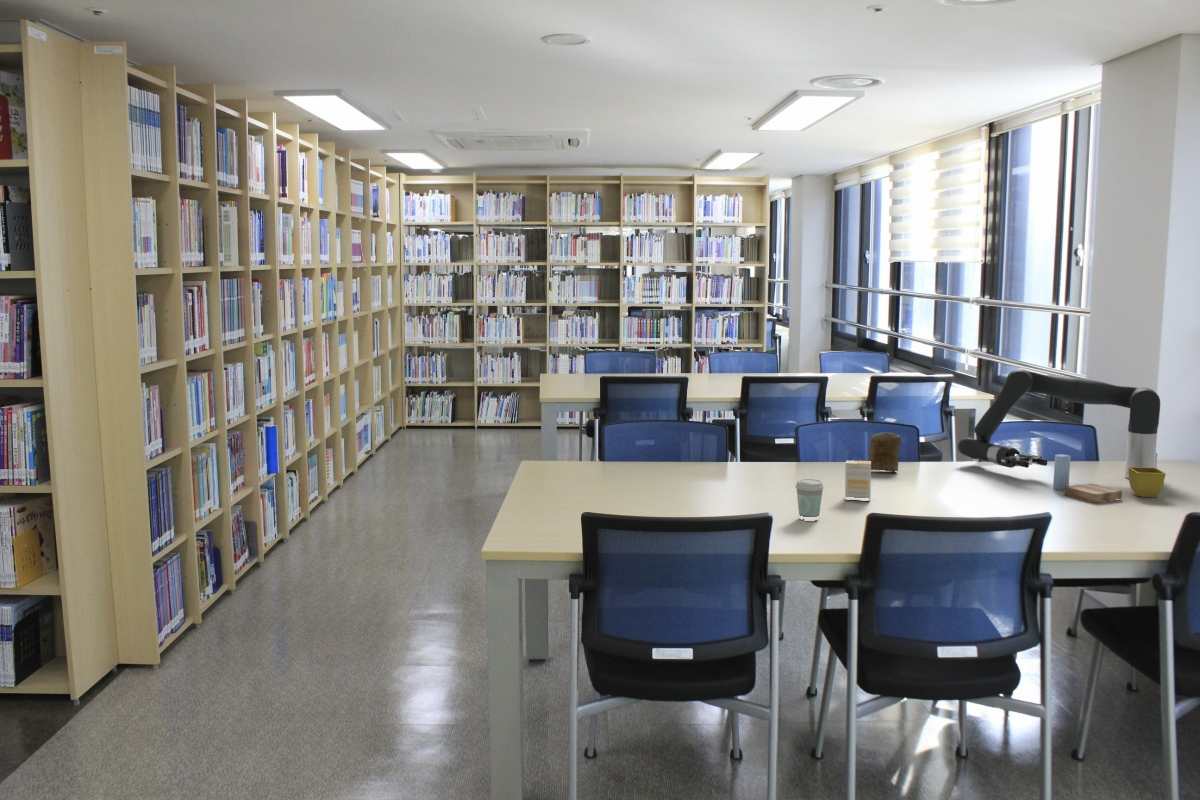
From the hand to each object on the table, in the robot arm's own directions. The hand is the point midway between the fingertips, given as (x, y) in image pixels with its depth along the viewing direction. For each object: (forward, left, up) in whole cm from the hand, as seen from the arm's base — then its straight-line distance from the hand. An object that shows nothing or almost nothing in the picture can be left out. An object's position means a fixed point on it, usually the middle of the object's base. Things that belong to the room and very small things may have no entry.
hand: (1037, 463), depth 327 cm
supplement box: (+74, -4, -7) cm, 74 cm away
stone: (+38, -37, -7) cm, 54 cm away
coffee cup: (+103, +11, -7) cm, 104 cm away
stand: (0, +24, -7) cm, 25 cm away
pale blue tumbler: (0, +11, -7) cm, 13 cm away
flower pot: (-18, +29, -7) cm, 35 cm away
